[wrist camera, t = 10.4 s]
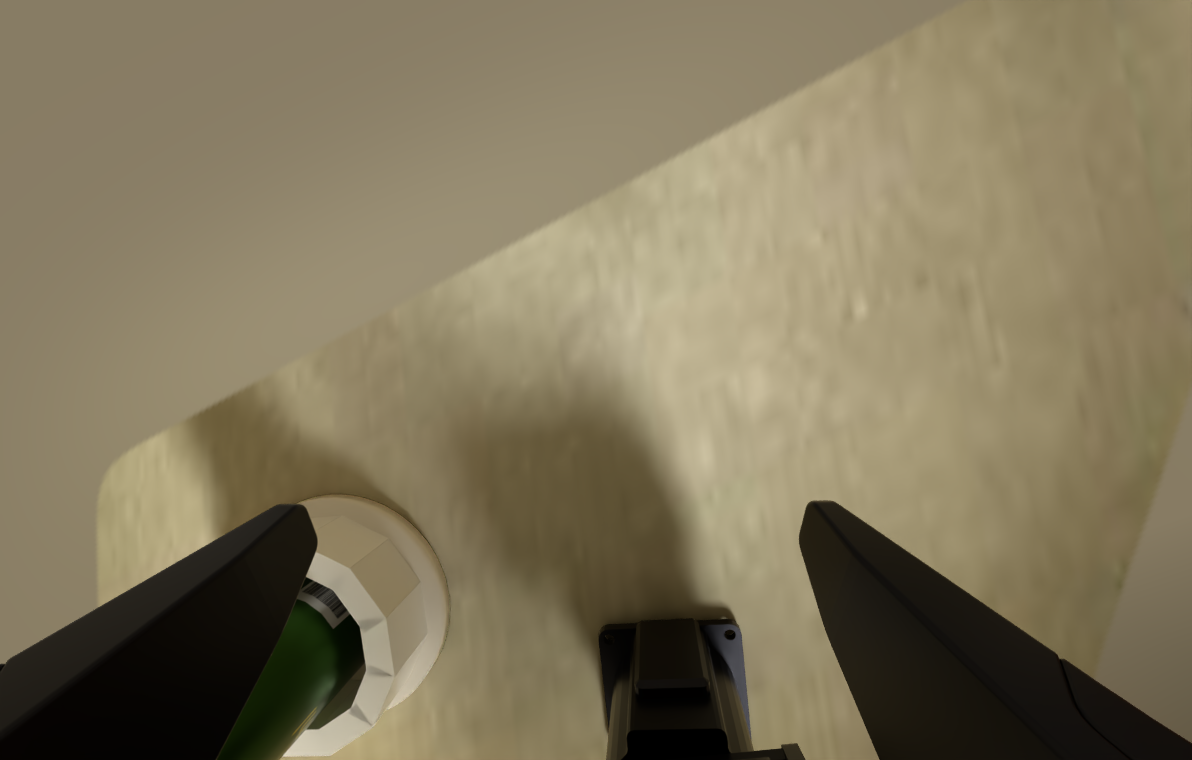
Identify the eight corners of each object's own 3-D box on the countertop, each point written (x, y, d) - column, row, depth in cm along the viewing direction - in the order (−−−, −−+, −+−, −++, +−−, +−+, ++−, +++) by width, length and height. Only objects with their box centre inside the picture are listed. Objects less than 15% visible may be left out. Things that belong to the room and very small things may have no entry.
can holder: (463, 700, 24) (426, 772, 20) (263, 706, 25) (191, 774, 21) (434, 486, 23) (390, 515, 19) (230, 502, 24) (148, 533, 20)
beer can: (305, 539, 23) (-67, 754, 11) (404, 589, 22) (130, 867, 11) (268, 633, 23) (-121, 934, 12) (364, 683, 23) (63, 1046, 11)
